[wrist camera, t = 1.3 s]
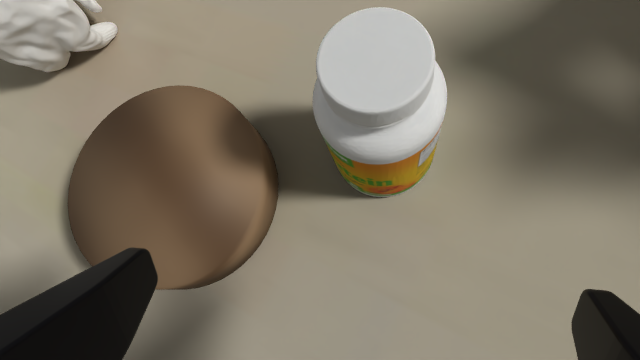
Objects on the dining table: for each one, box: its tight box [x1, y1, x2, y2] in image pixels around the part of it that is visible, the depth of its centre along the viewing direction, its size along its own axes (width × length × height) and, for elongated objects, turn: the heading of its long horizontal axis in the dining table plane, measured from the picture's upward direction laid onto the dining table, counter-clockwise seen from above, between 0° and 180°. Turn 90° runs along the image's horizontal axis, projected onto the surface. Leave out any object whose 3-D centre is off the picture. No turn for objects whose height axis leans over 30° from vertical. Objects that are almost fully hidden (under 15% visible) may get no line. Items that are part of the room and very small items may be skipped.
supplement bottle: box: [313, 7, 447, 197], centre depth 18 cm, size 5×5×10 cm
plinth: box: [68, 86, 278, 289], centre depth 23 cm, size 11×11×3 cm
